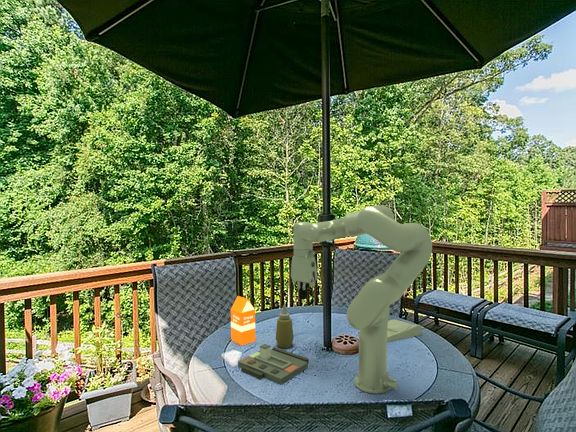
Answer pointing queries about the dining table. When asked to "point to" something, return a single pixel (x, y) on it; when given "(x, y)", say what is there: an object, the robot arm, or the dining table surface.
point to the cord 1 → (252, 372)
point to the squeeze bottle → (284, 329)
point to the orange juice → (242, 321)
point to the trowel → (401, 330)
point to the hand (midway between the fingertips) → (303, 298)
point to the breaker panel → (275, 366)
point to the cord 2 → (291, 354)
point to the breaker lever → (265, 352)
